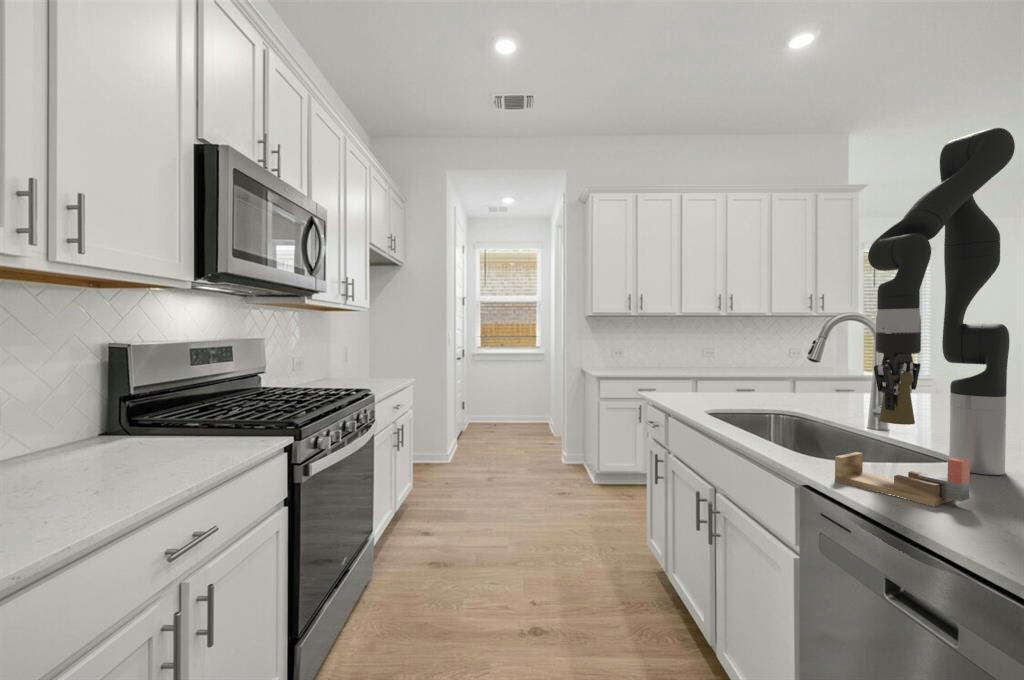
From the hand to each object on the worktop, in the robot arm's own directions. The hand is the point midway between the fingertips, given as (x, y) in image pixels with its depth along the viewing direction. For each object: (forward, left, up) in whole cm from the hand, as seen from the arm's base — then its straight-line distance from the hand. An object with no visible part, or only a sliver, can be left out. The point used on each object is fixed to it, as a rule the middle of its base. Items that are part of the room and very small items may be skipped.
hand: (897, 411), depth 104 cm
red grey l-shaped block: (+9, +11, -13) cm, 19 cm away
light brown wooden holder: (+9, +3, -15) cm, 17 cm away
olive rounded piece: (0, 0, -3) cm, 3 cm away
